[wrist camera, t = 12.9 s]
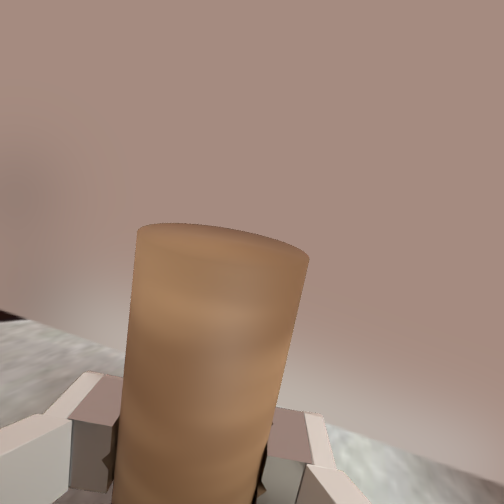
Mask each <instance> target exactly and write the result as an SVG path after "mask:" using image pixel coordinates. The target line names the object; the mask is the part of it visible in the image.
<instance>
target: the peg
mask: <svg viewBox="0 0 504 504" xmlns="http://www.w3.org/2000/svg"><path fill="white" fill-rule="evenodd" d="M308 263H309V257H308V255H307V254H306V253H305V252H303V251H302V250H300V249H298V248H296V247H294V246H292V245H290V244H287V243H284V242H281V241H279V240H276V239H272V238H269V237H265V236H262V235H258V234H253V233H249V232H245V231H239V230H234V229H229V228H223V227H216V226H208V225H198V224H186V223H184V224H183V223H160V224H151V225H146V226H143V227H141V228H140V229H138V231H137V240H136V252H135V262H134V272H133V282H132V293H131V303H130V314H129V324H128V334H127V346H126V355H125V366H124V376H123V387H122V397H121V408H120V418H119V429H118V439H117V450H116V460H115V471H114V481H113V492H112V502H111V504H253V501H254V497H255V492H256V488H257V483H258V480H259V476H260V473H261V466H262V462H263V457H264V453H265V449H266V444H267V441H268V437H269V434H270V430H271V425H272V421H273V416H274V412H275V408H276V403H277V399H278V394H279V390H280V386H281V381H282V377H283V373H284V368H285V364H286V359H287V355H288V350H289V346H290V342H291V337H292V333H293V329H294V324H295V320H296V315H297V311H298V307H299V302H300V298H301V294H302V289H303V285H304V281H305V276H306V272H307V267H308Z"/></svg>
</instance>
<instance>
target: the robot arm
mask: <svg viewBox="0 0 504 504" xmlns="http://www.w3.org/2000/svg"><path fill="white" fill-rule="evenodd" d="M122 387H123V378H122V377H117V376H112V375H108V374H107V375H105V374H102V373H97V372H92V371H87V372H84V373H83V374H82V375H81V376H80V377H79V378H78V379H77V380H76V381H75V382H74V383H73V384H72V385H71V386H70V387H69V388H68V389H67V390H66V391H65V392H64V393H63V394H62V395H61V396H60V397H59V398H58V399H57V400H56V401H55V402H54V403H53V404H52V405H51V406H50V407H49V408H48V409H47V410H46V411H45V412H44V413H43V414H42V415H41V414H34V415H32V416H29V417H27V418H25V419H22V420H20V421H18V422H15V423H13V424H11V425H8V426H6V427H3V428H1V429H0V504H52V503H53V502H54V501H55V500H57V499H58V498H59V497H60V496H62V495H63V494H64V493H66V492H67V491H68V488H72V489H79V490H86V491H92V492H99V493H105V494H106V493H107V491H108V489H109V487H110V485H111V483H112V481H113V479H114V471H115V460H116V450H117V439H118V429H119V418H120V408H121V397H122ZM253 504H372V503H371V502H370V501H369V500H368V499H367V498H366V496H365V495H364V494H363V493H362V492H361V491H360V490H359V488H358V487H357V486H356V485H355V484H354V483H353V482H352V480H351V479H350V478H349V477H348V476H347V475H346V474H345V472H344V471H341V470H337V468H336V464H335V460H334V456H333V453H332V449H331V445H330V441H329V437H328V434H327V430H326V426H325V422H324V418H323V416H322V415H321V414H318V413H312V412H305V411H302V412H301V411H296V410H291V409H285V408H280V407H276V408H275V412H274V416H273V421H272V425H271V430H270V434H269V437H268V441H267V444H266V449H265V453H264V457H263V462H262V466H261V473H260V476H259V480H258V483H257V488H256V492H255V497H254V501H253Z"/></svg>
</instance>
